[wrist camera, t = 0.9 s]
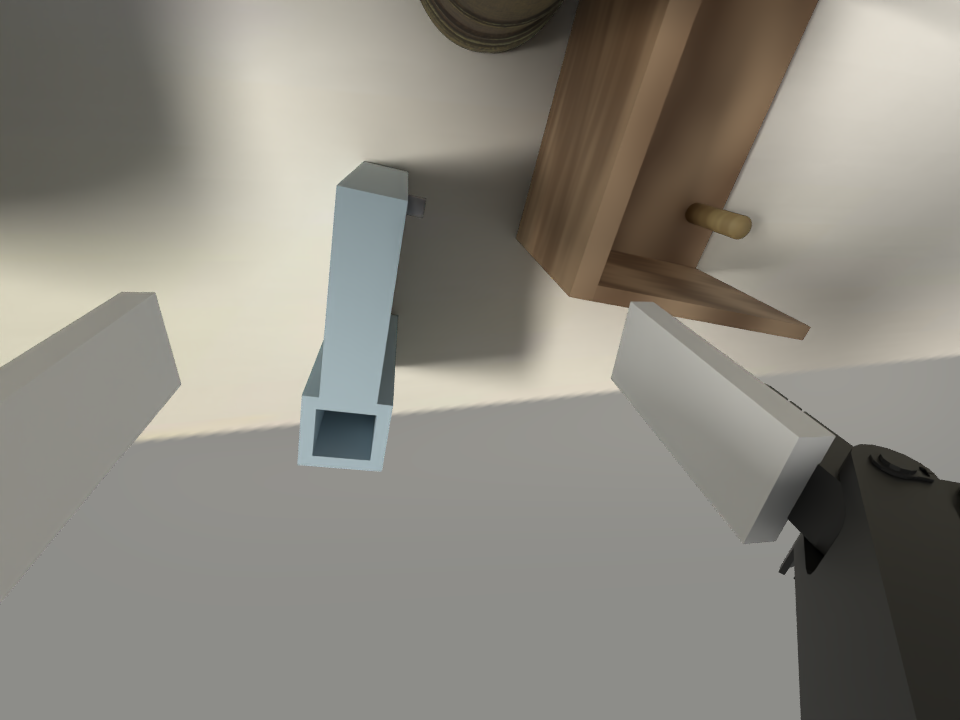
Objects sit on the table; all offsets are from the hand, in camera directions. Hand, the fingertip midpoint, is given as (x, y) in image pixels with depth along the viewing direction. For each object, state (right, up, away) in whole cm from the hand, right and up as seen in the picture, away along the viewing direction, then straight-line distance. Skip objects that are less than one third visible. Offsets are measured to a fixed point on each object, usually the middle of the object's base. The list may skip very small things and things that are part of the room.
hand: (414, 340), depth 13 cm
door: (-6, +5, +18) cm, 20 cm away
